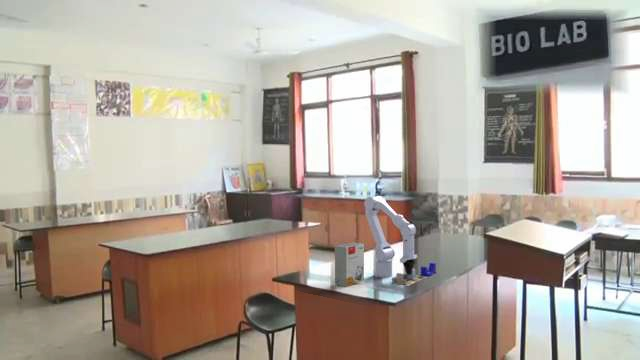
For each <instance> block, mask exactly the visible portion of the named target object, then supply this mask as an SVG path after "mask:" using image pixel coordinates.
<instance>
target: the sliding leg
mask: <svg viewBox="0 0 640 360" xmlns="http://www.w3.org/2000/svg"><path fill="white" fill-rule="evenodd" d="M417 275H418V274H416V268H413V269H412V273H411V275H409V274H408V279H409V280H411V279H412V281H413V279H416V280H418V277H417ZM415 277H416V278H415Z"/></svg>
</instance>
